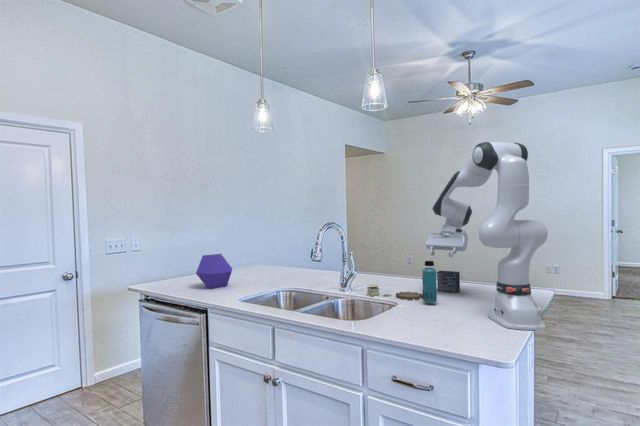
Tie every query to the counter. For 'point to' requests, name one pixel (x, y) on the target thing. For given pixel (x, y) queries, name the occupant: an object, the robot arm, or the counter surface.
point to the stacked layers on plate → (373, 290)
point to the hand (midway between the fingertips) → (440, 255)
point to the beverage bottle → (429, 283)
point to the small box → (448, 281)
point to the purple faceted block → (214, 271)
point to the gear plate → (409, 295)
